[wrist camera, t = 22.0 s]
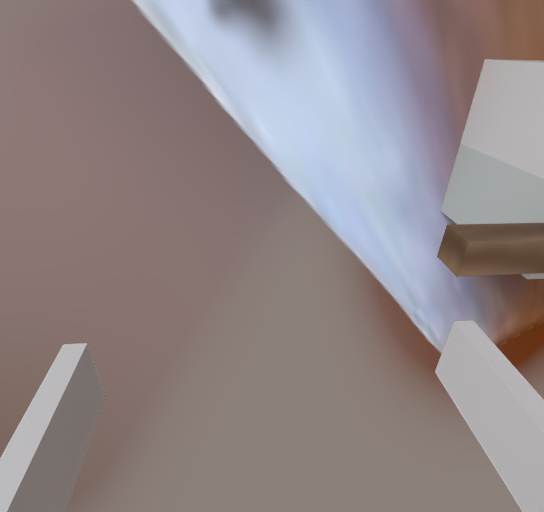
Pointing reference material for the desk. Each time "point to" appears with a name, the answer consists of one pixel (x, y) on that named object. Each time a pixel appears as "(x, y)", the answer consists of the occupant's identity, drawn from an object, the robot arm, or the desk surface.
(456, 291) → the desk surface
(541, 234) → the walnut rod
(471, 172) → the two-step riser
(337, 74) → the desk surface
